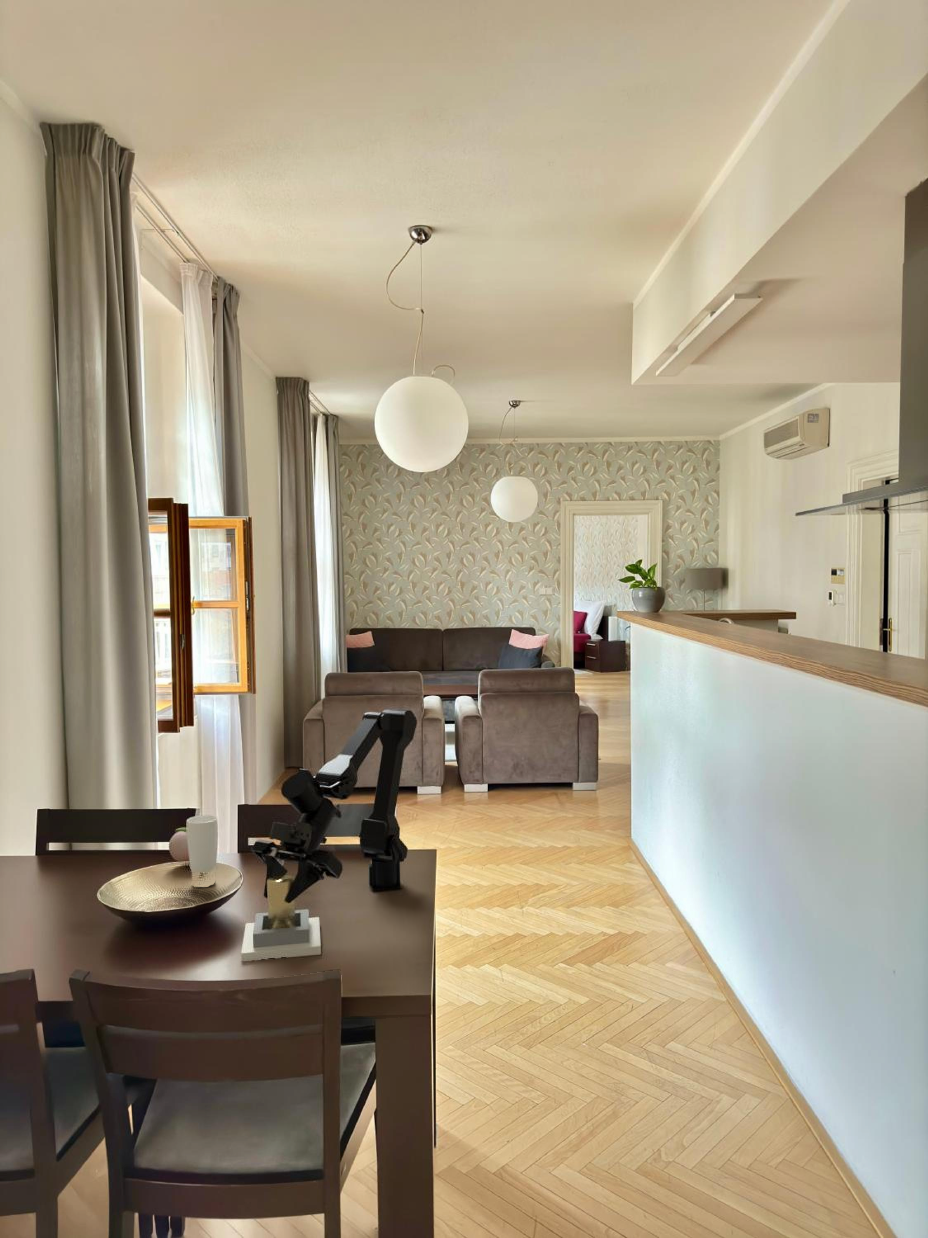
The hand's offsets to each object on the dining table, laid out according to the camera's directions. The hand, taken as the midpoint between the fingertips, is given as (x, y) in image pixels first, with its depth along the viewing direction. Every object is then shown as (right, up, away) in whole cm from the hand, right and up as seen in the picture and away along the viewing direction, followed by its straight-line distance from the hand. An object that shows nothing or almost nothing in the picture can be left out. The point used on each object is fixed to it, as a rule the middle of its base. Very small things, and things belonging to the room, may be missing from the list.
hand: (276, 899), depth 161 cm
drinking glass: (-24, -8, +33) cm, 42 cm away
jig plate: (+1, -9, +1) cm, 9 cm away
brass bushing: (+1, -7, +1) cm, 7 cm away
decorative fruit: (-31, -7, +46) cm, 56 cm away
